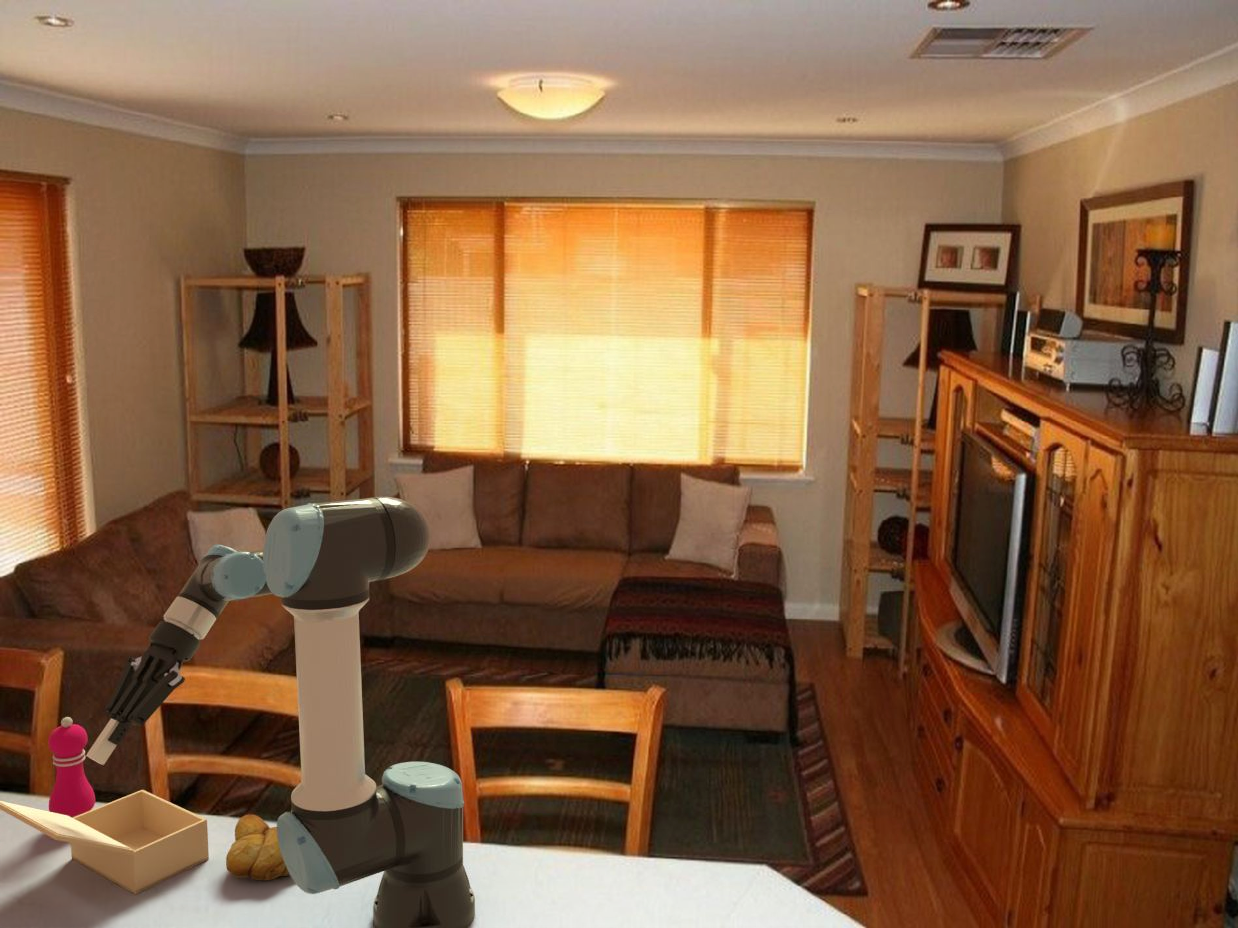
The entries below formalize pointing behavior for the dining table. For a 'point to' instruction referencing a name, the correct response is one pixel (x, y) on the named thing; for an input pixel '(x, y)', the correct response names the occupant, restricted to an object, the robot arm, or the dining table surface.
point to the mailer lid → (63, 828)
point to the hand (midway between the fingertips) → (94, 760)
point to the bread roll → (255, 851)
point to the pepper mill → (70, 771)
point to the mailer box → (143, 840)
